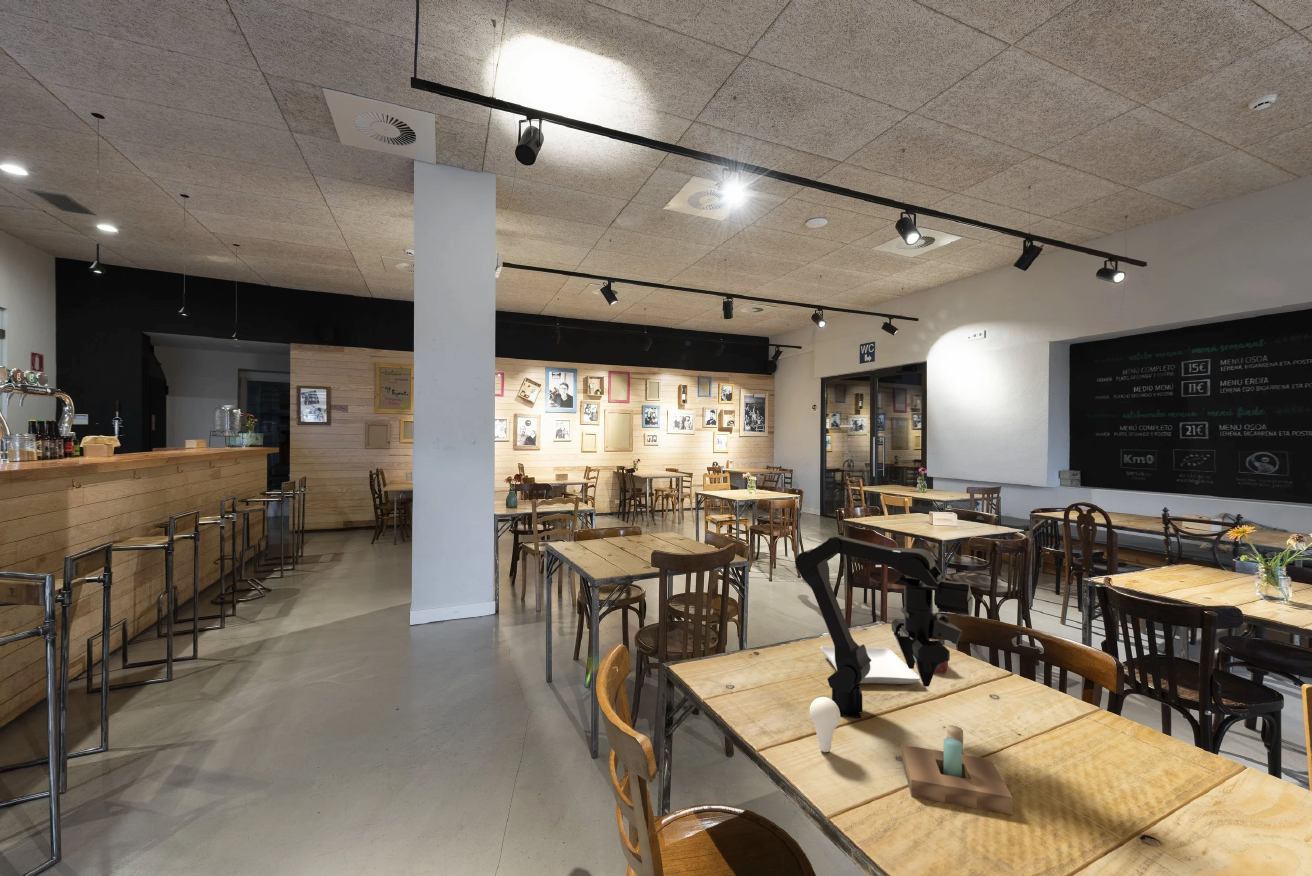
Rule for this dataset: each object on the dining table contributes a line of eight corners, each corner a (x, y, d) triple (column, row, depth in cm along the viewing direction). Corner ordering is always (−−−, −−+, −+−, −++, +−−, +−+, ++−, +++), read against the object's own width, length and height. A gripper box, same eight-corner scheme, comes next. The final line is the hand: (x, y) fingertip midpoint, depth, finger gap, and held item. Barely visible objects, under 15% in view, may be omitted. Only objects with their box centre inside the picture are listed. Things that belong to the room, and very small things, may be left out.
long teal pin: (945, 788, 99) (945, 744, 99) (941, 778, 102) (942, 736, 102) (963, 791, 98) (963, 747, 98) (959, 781, 101) (959, 739, 101)
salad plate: (922, 690, 140) (922, 677, 140) (842, 688, 141) (842, 675, 141) (888, 658, 162) (889, 647, 162) (819, 657, 162) (819, 646, 162)
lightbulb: (840, 746, 113) (840, 694, 113) (840, 762, 107) (840, 707, 107) (810, 741, 115) (810, 689, 115) (808, 756, 109) (808, 702, 109)
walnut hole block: (911, 796, 97) (911, 779, 97) (901, 759, 108) (901, 744, 108) (1012, 814, 92) (1012, 797, 92) (991, 774, 103) (991, 758, 104)
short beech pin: (948, 755, 110) (948, 731, 110) (945, 748, 113) (945, 724, 113) (964, 758, 109) (964, 733, 109) (961, 750, 112) (961, 726, 112)
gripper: (976, 622, 108) (976, 699, 108) (939, 596, 127) (939, 662, 127) (919, 619, 110) (919, 695, 109) (890, 594, 128) (890, 659, 128)
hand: (918, 677), depth 118 cm, fingers open, 9 cm apart
